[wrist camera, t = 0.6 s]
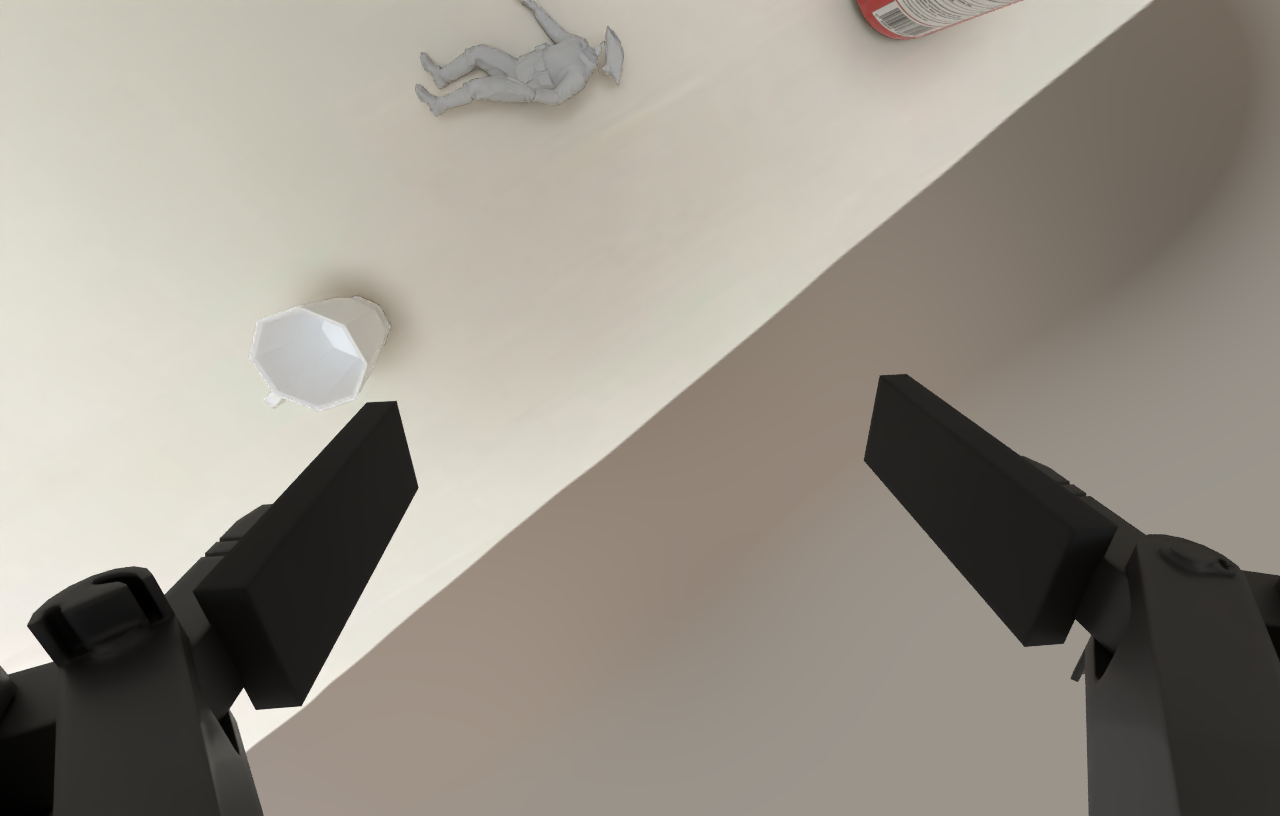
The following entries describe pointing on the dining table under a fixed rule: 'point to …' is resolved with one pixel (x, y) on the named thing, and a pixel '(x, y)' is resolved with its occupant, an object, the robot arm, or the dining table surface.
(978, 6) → the soda can
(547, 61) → the soldier figure
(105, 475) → the dining table surface
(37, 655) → the dining table surface
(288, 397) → the cup
